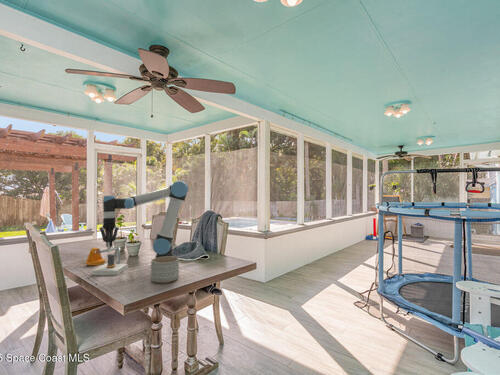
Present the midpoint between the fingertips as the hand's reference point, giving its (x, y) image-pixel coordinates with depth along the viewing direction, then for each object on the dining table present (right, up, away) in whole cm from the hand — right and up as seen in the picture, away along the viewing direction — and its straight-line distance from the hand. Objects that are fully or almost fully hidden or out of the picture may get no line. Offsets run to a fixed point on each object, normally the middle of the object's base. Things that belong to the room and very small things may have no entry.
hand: (109, 251), depth 183 cm
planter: (+45, -13, -19) cm, 50 cm away
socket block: (+3, -13, -3) cm, 14 cm away
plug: (+3, -13, -3) cm, 14 cm away
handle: (-1, -13, +2) cm, 13 cm away
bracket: (-18, -14, +15) cm, 27 cm away
